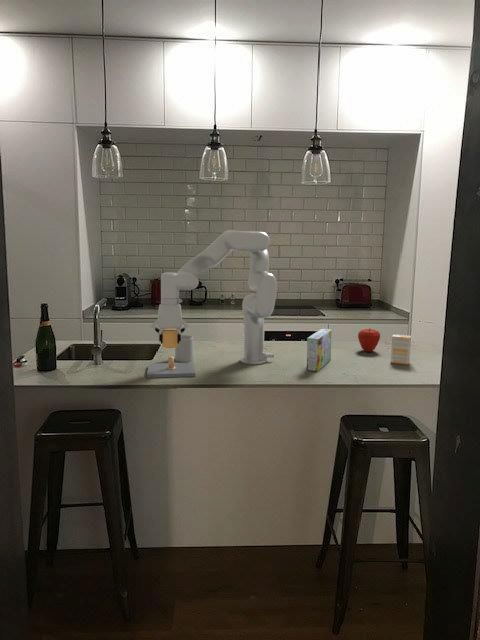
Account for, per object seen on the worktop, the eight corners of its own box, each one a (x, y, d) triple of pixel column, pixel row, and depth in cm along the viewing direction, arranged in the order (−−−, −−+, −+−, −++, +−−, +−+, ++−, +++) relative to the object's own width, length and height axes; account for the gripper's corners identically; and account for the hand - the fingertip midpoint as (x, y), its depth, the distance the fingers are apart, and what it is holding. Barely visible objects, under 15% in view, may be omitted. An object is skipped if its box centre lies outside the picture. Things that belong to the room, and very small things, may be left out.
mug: (192, 362, 231) (192, 339, 229) (174, 362, 231) (174, 339, 229) (194, 355, 243) (194, 333, 241) (177, 355, 243) (176, 333, 241)
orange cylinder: (177, 344, 218) (177, 328, 217) (177, 348, 212) (177, 331, 210) (162, 344, 217) (162, 328, 216) (162, 348, 211) (162, 331, 210)
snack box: (319, 358, 239) (321, 328, 237) (331, 360, 237) (332, 329, 234) (305, 370, 221) (306, 337, 218) (317, 372, 218) (319, 338, 215)
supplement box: (409, 362, 234) (411, 335, 232) (408, 365, 230) (410, 337, 227) (391, 360, 237) (393, 333, 235) (390, 363, 233) (391, 335, 231)
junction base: (194, 365, 226) (193, 351, 225) (195, 376, 210) (195, 361, 209) (149, 366, 224) (148, 352, 222) (147, 377, 208) (146, 362, 207)
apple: (358, 347, 261) (360, 325, 259) (380, 349, 257) (381, 326, 255) (355, 352, 251) (357, 329, 249) (377, 354, 247) (379, 331, 245)
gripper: (190, 300, 216) (190, 340, 219) (149, 300, 213) (150, 341, 217) (190, 303, 208) (190, 345, 212) (148, 303, 206) (149, 345, 210)
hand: (170, 342), depth 214 cm, fingers closed on orange cylinder, 6 cm apart
